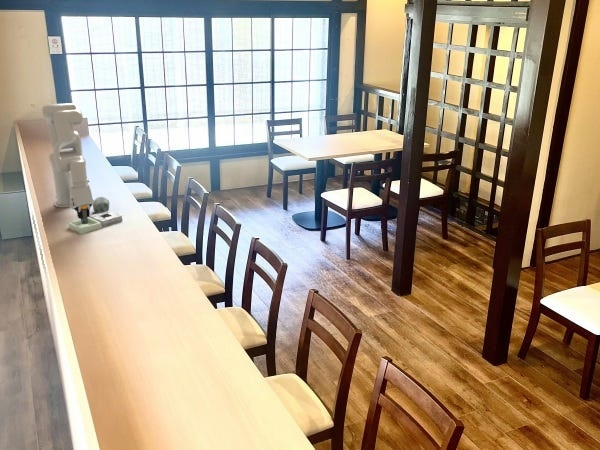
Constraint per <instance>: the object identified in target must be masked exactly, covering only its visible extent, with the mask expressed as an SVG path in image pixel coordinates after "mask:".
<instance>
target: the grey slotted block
mask: <svg viewBox="0 0 600 450" xmlns="http://www.w3.org/2000/svg"><path fill="white" fill-rule="evenodd" d="M90 218H92V219H94V220H96V221H99V222H101V224H102V228H103V227H106V226H110V225H112V224H116V223H119V222H122V221H123V215H121V214H119V213H116V212H114V211H112V210H110V209H109V210H108V211H105V212H102V213H95V214H90Z"/></svg>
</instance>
